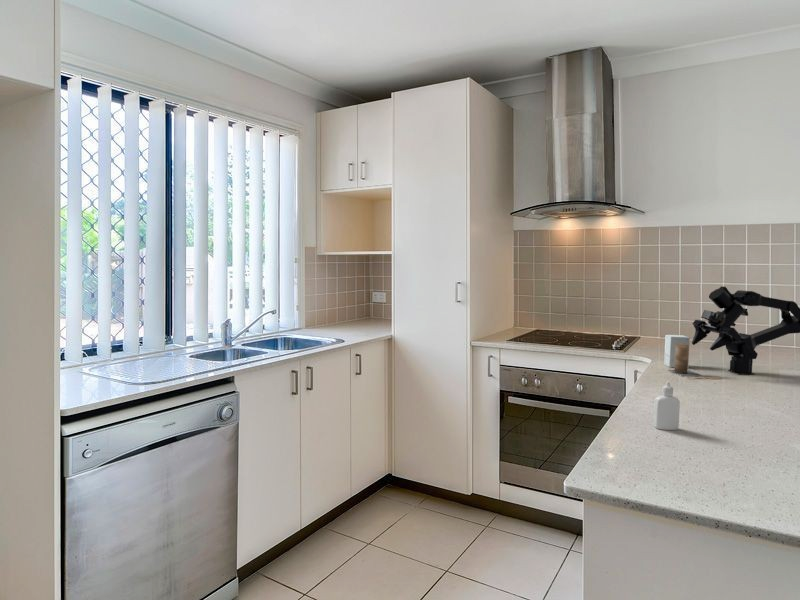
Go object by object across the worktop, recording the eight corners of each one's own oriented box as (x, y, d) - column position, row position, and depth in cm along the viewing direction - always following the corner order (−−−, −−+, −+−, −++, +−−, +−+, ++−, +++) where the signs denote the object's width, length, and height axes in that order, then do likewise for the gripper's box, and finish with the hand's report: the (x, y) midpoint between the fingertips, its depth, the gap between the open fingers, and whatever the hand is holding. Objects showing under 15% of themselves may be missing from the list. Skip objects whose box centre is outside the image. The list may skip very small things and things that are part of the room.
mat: (689, 371, 204) (689, 370, 204) (703, 376, 194) (703, 375, 194) (668, 371, 204) (668, 369, 204) (682, 376, 194) (682, 375, 194)
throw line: (718, 378, 192) (718, 377, 192) (720, 379, 191) (720, 378, 191) (685, 378, 192) (685, 377, 192) (687, 378, 191) (687, 377, 191)
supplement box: (688, 368, 210) (690, 337, 209) (668, 367, 211) (670, 336, 210) (682, 365, 217) (684, 334, 216) (663, 364, 219) (664, 334, 218)
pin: (687, 372, 200) (688, 344, 199) (687, 374, 196) (688, 345, 196) (674, 371, 202) (675, 343, 201) (674, 373, 198) (675, 344, 198)
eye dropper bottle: (654, 424, 136) (656, 378, 135) (678, 427, 133) (681, 381, 132) (652, 428, 132) (654, 382, 132) (677, 432, 130) (680, 385, 129)
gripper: (697, 299, 207) (671, 328, 206) (736, 306, 189) (708, 338, 188) (713, 317, 210) (688, 346, 209) (753, 326, 191) (725, 358, 191)
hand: (701, 346), depth 199 cm, fingers open, 9 cm apart
